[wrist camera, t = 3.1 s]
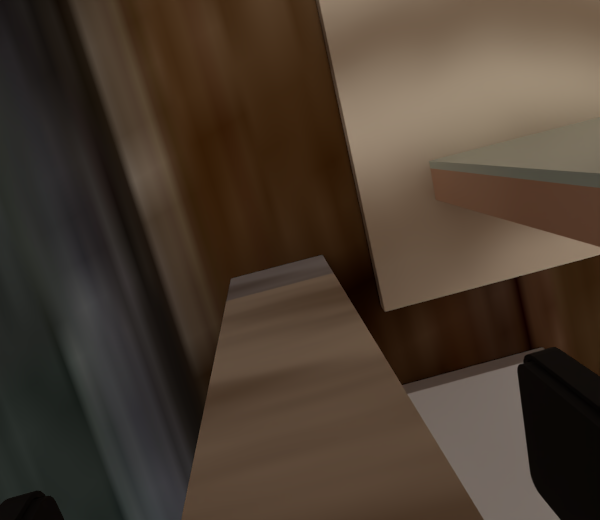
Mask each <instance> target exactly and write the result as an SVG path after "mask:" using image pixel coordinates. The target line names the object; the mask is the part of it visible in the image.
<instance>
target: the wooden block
mask: <svg viewBox="0 0 600 520" xmlns="http://www.w3.org/2000/svg"><path fill="white" fill-rule="evenodd" d="M181 520H484V519H483V517H482V516H481V514H480V512H479V511H478V509H477V508H476V506H475V504H474V503H473V501H472V499H471V498H470V496H469V494H468V493H467V491H466V490H465V488H464V486H463V485H462V483H461V481H460V480H459V478H458V476H457V475H456V473H455V471H454V470H453V468H452V467H451V465H450V463H449V462H448V460H447V458H446V457H445V455H444V453H443V452H442V450H441V449H440V447H439V445H438V444H437V442H436V440H435V439H434V437H433V435H432V434H431V432H430V430H429V429H428V427H427V426H426V424H425V422H424V421H423V419H422V417H421V416H420V414H419V412H418V411H417V409H416V408H415V406H414V404H413V403H412V401H411V399H410V398H409V396H408V394H407V393H406V391H405V389H404V388H403V386H402V385H401V383H400V381H399V380H398V378H397V376H396V375H395V373H394V371H393V370H392V368H391V367H390V365H389V363H388V362H387V360H386V358H385V357H384V355H383V353H382V352H381V350H380V348H379V347H378V345H377V344H376V342H375V340H374V339H373V337H372V335H371V334H370V332H369V330H368V329H367V327H366V326H365V324H364V322H363V321H362V319H361V317H360V316H359V314H358V312H357V311H356V309H355V307H354V306H353V304H352V303H351V301H350V299H349V298H348V296H347V294H346V293H345V291H344V289H343V288H342V286H341V285H340V283H339V281H338V280H337V278H336V276H335V275H334V273H333V271H332V270H331V268H330V267H329V265H328V263H327V262H326V260H325V258H324V257H323V255H319V256H316V257H312V258H308V259H304V260H300V261H296V262H293V263H289V264H285V265H281V266H277V267H273V268H270V269H266V270H262V271H258V272H254V273H251V274H247V275H243V276H239V277H235V278H231V281H230V286H229V291H228V296H227V301H226V305H225V310H224V315H223V320H222V325H221V330H220V334H219V339H218V344H217V349H216V354H215V359H214V364H213V368H212V373H211V378H210V383H209V388H208V393H207V397H206V402H205V407H204V412H203V417H202V422H201V427H200V431H199V436H198V441H197V446H196V451H195V456H194V461H193V465H192V470H191V475H190V480H189V485H188V490H187V494H186V499H185V504H184V509H183V514H182V519H181Z"/></svg>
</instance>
